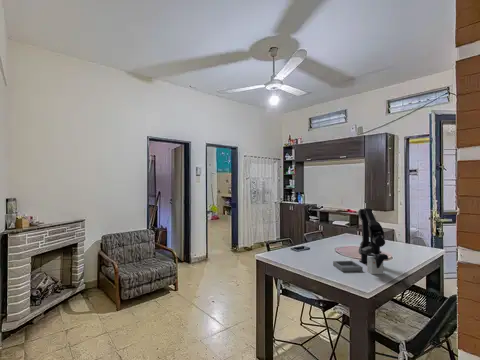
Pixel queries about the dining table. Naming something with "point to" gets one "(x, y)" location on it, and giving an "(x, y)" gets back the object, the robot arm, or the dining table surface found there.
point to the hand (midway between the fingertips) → (375, 266)
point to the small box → (373, 266)
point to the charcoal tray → (347, 266)
